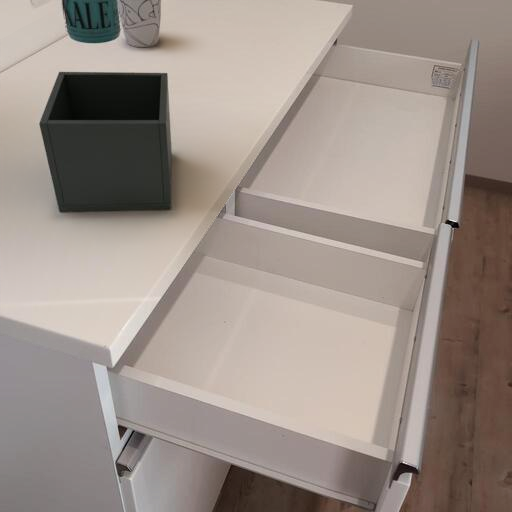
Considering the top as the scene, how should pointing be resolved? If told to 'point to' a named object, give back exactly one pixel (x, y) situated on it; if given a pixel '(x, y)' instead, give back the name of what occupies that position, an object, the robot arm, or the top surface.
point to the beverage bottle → (92, 20)
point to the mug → (140, 21)
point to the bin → (109, 141)
